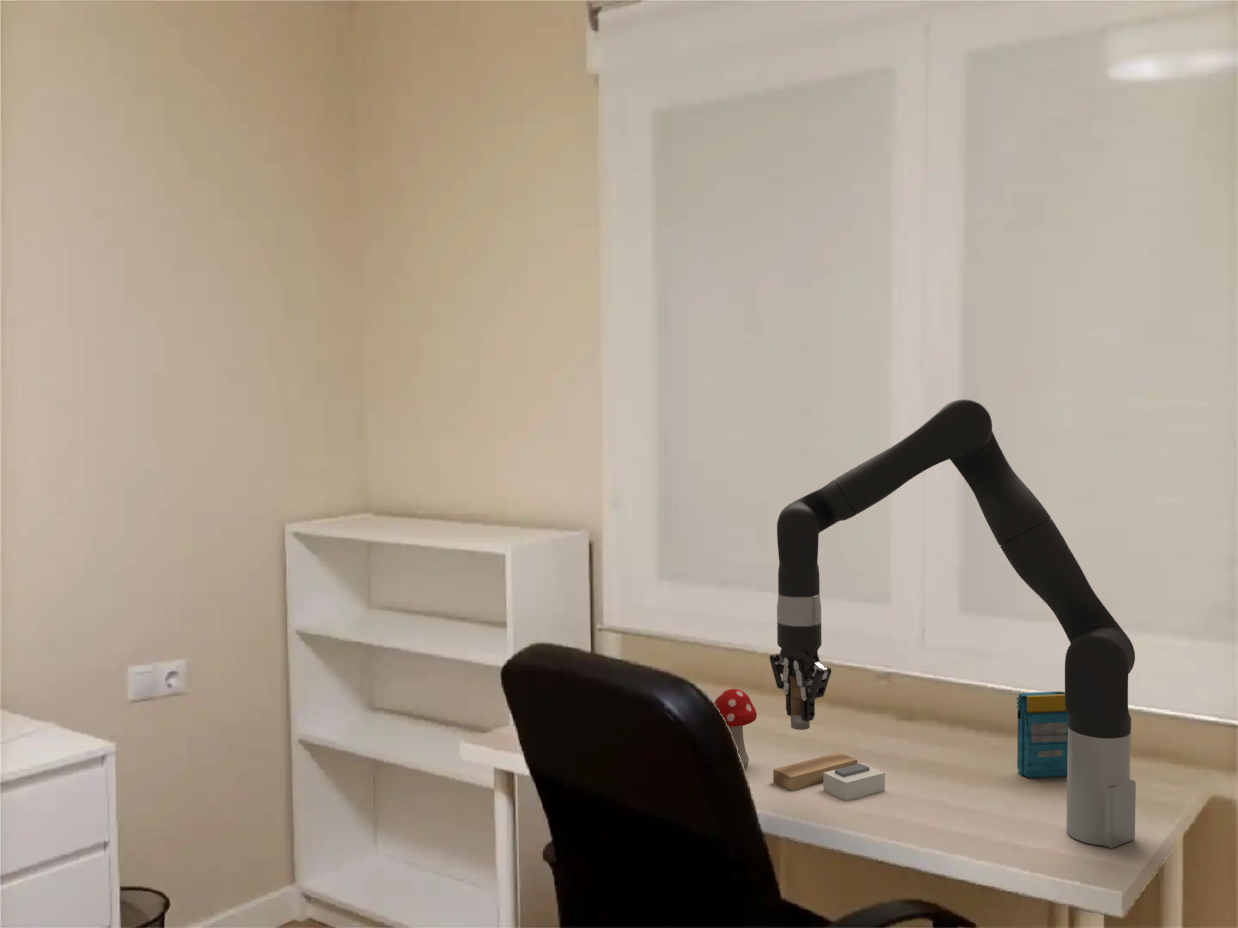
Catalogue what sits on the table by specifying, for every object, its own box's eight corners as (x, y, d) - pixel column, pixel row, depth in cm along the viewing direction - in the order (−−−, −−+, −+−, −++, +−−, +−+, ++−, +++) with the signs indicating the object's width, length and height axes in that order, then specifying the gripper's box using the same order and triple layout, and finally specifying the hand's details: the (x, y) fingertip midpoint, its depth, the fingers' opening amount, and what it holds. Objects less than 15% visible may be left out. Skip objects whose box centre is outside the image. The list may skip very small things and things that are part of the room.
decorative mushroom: (737, 779, 209) (736, 699, 208) (699, 769, 215) (698, 691, 214) (767, 765, 217) (766, 687, 216) (729, 755, 223) (728, 680, 221)
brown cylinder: (813, 727, 197) (813, 676, 196) (799, 731, 195) (798, 679, 195) (801, 723, 200) (800, 672, 199) (787, 726, 198) (786, 675, 197)
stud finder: (884, 791, 203) (884, 769, 203) (846, 802, 199) (846, 779, 198) (861, 781, 208) (861, 759, 208) (823, 791, 204) (823, 769, 203)
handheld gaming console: (1065, 769, 211) (1066, 690, 210) (1076, 777, 207) (1077, 697, 206) (1014, 772, 211) (1015, 692, 210) (1023, 780, 207) (1024, 698, 206)
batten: (857, 772, 212) (857, 759, 212) (791, 790, 204) (791, 777, 203) (838, 765, 216) (838, 752, 216) (773, 782, 208) (773, 769, 208)
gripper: (844, 623, 192) (844, 724, 194) (788, 610, 204) (789, 704, 205) (810, 629, 188) (811, 732, 190) (756, 615, 200) (757, 712, 201)
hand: (800, 717), depth 197 cm, fingers closed on brown cylinder, 3 cm apart
